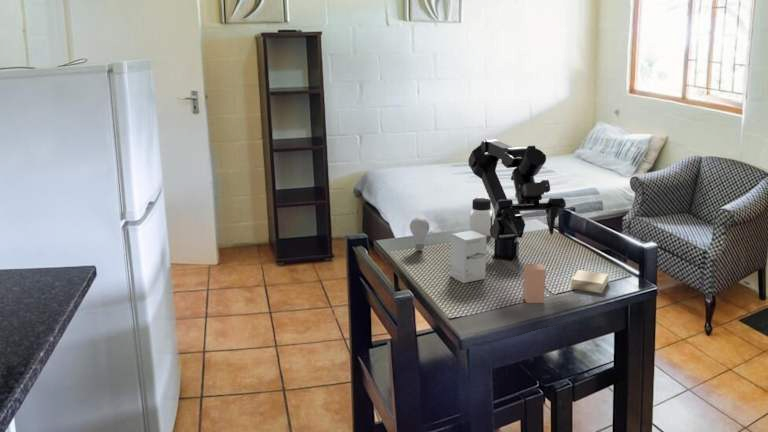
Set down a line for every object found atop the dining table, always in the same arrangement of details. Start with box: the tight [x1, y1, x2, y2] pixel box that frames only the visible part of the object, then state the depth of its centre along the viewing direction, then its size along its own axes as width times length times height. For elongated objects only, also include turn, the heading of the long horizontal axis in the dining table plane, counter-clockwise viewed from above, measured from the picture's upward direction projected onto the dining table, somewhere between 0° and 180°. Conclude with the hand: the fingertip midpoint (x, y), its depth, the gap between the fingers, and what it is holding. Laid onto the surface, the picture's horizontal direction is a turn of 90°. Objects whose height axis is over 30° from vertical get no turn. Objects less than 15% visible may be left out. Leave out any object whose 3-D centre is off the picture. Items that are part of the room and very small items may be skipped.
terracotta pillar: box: [522, 263, 547, 304], centre depth 181 cm, size 4×4×9 cm
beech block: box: [571, 269, 609, 294], centre depth 191 cm, size 8×8×3 cm
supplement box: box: [449, 230, 487, 284], centre depth 197 cm, size 7×7×13 cm
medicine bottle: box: [469, 197, 494, 237], centre depth 238 cm, size 7×7×12 cm
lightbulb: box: [409, 216, 430, 252], centre depth 220 cm, size 6×6×11 cm
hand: (535, 234), depth 190 cm, fingers open, 9 cm apart
